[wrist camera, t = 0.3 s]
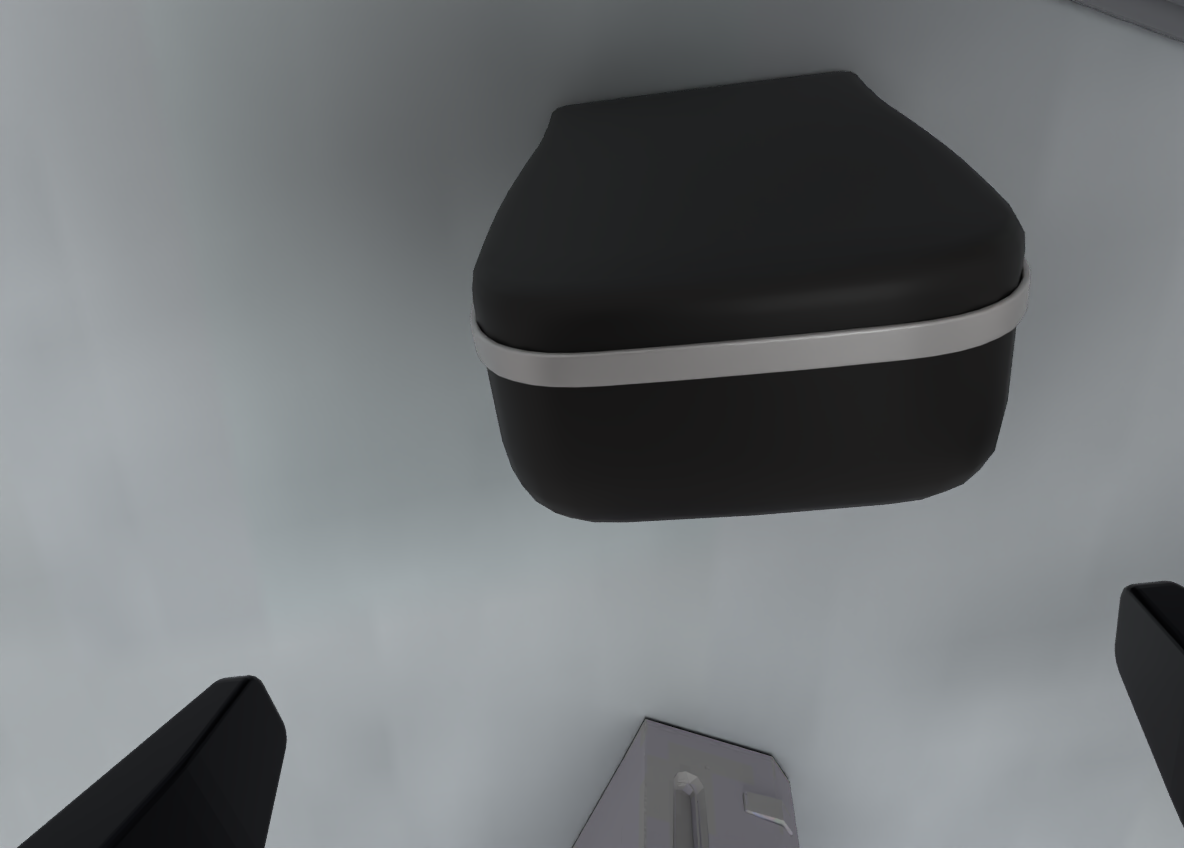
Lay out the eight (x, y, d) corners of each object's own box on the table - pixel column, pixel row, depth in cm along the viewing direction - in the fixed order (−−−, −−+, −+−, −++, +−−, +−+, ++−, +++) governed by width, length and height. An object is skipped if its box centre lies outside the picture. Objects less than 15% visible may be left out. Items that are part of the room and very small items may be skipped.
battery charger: (564, 269, 22) (488, 584, 12) (539, 104, 20) (423, 315, 10) (864, 238, 21) (1053, 549, 11) (867, 63, 19) (1100, 247, 9)
